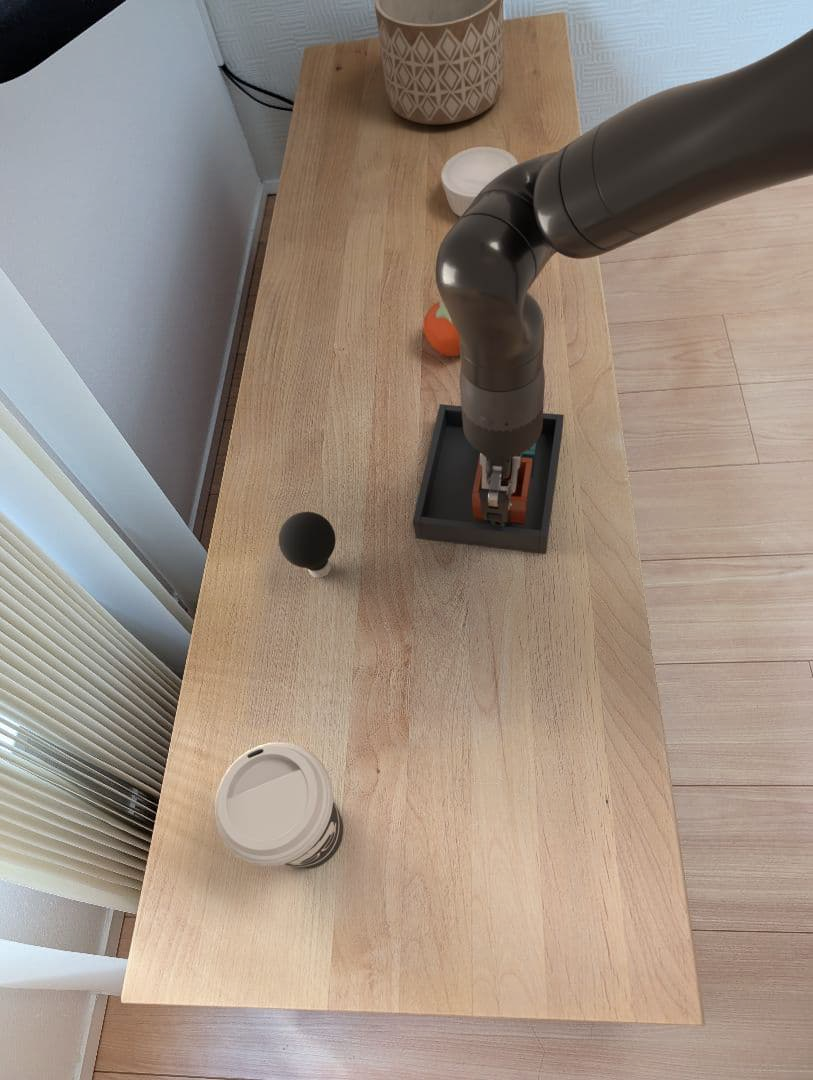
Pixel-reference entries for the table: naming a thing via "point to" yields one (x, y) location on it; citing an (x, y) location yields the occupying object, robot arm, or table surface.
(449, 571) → the table surface
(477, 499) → the box brown
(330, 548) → the light bulb
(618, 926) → the table surface
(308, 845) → the coffee cup
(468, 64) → the planter
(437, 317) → the tomato
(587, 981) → the table surface
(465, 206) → the ramekin
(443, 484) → the tray
